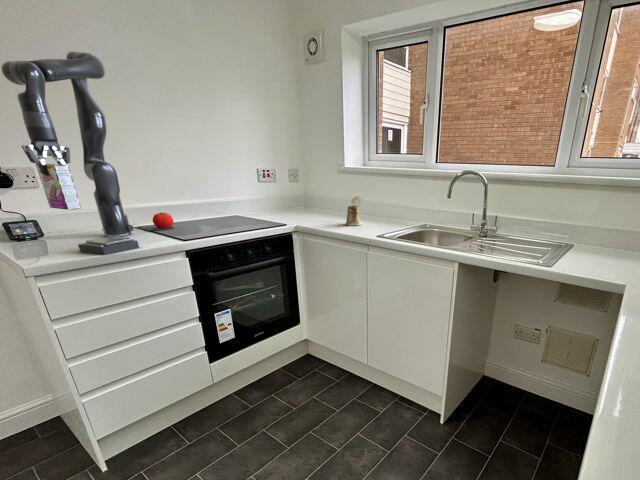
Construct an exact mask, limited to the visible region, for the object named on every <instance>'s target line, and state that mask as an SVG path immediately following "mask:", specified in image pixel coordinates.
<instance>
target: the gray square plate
mask: <svg viewBox="0 0 640 480" xmlns="http://www.w3.org/2000/svg"><path fill="white" fill-rule="evenodd" d="M131 240H135V238H133V237H126V236H110V237H106V236H105V237H97V238H93V239H88V240H85V243H93V244H101V245H110V244H115V243H121V242H126V241H131Z"/></svg>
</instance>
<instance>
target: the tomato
mask: <svg viewBox="0 0 640 480" xmlns="http://www.w3.org/2000/svg"><path fill="white" fill-rule="evenodd" d="M152 223H153V225H154V226H155V227H156V229H160V228H168V227H173V225H174V223H175V222H174V218H173V216H172V215H171V214H169V213H167V212H158V213H155V214H154V215H153V216H152Z"/></svg>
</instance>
